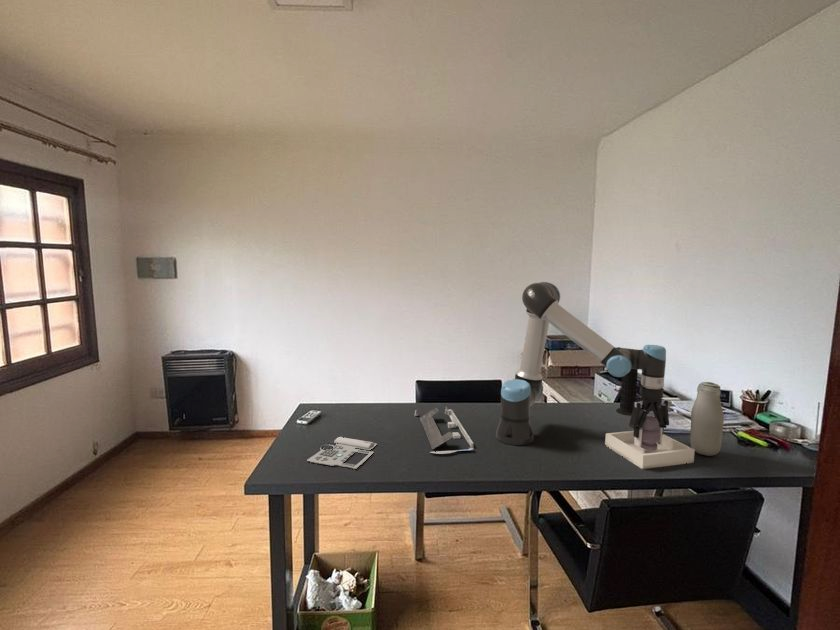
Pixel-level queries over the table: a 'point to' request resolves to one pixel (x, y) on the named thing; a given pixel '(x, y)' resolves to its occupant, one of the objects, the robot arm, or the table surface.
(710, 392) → the beige milk bottle
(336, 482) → the table surface
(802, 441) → the table surface
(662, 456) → the tray
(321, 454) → the office telephone
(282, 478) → the table surface
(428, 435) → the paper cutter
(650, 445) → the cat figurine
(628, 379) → the handle grip
